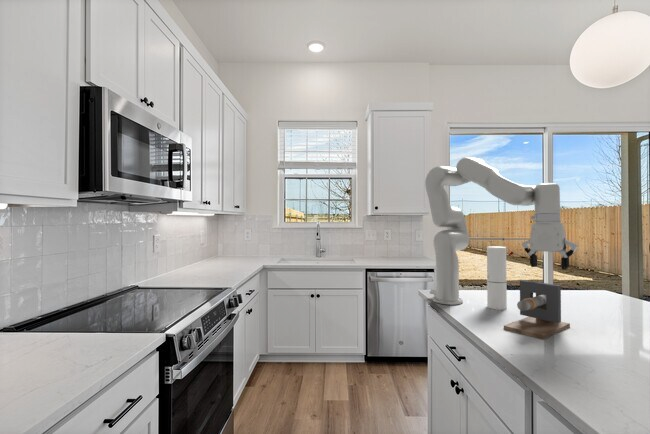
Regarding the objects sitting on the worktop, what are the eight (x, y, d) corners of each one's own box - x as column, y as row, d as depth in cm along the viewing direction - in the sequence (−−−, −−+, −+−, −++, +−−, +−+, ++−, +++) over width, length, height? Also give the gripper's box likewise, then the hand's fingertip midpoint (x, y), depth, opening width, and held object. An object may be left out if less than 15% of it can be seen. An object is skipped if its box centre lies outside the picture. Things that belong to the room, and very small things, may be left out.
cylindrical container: (502, 305, 146) (502, 246, 146) (509, 309, 139) (509, 247, 139) (484, 304, 147) (484, 246, 147) (491, 309, 140) (490, 247, 140)
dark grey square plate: (520, 314, 122) (519, 280, 122) (522, 313, 123) (522, 280, 123) (558, 323, 112) (558, 286, 112) (561, 321, 113) (560, 285, 113)
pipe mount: (503, 329, 116) (503, 293, 116) (532, 318, 127) (532, 286, 127) (542, 339, 106) (542, 300, 106) (569, 327, 117) (569, 291, 117)
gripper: (516, 219, 126) (518, 266, 126) (571, 218, 112) (573, 271, 112) (526, 219, 130) (528, 264, 130) (580, 218, 116) (582, 269, 116)
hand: (549, 267), depth 121 cm, fingers open, 9 cm apart
